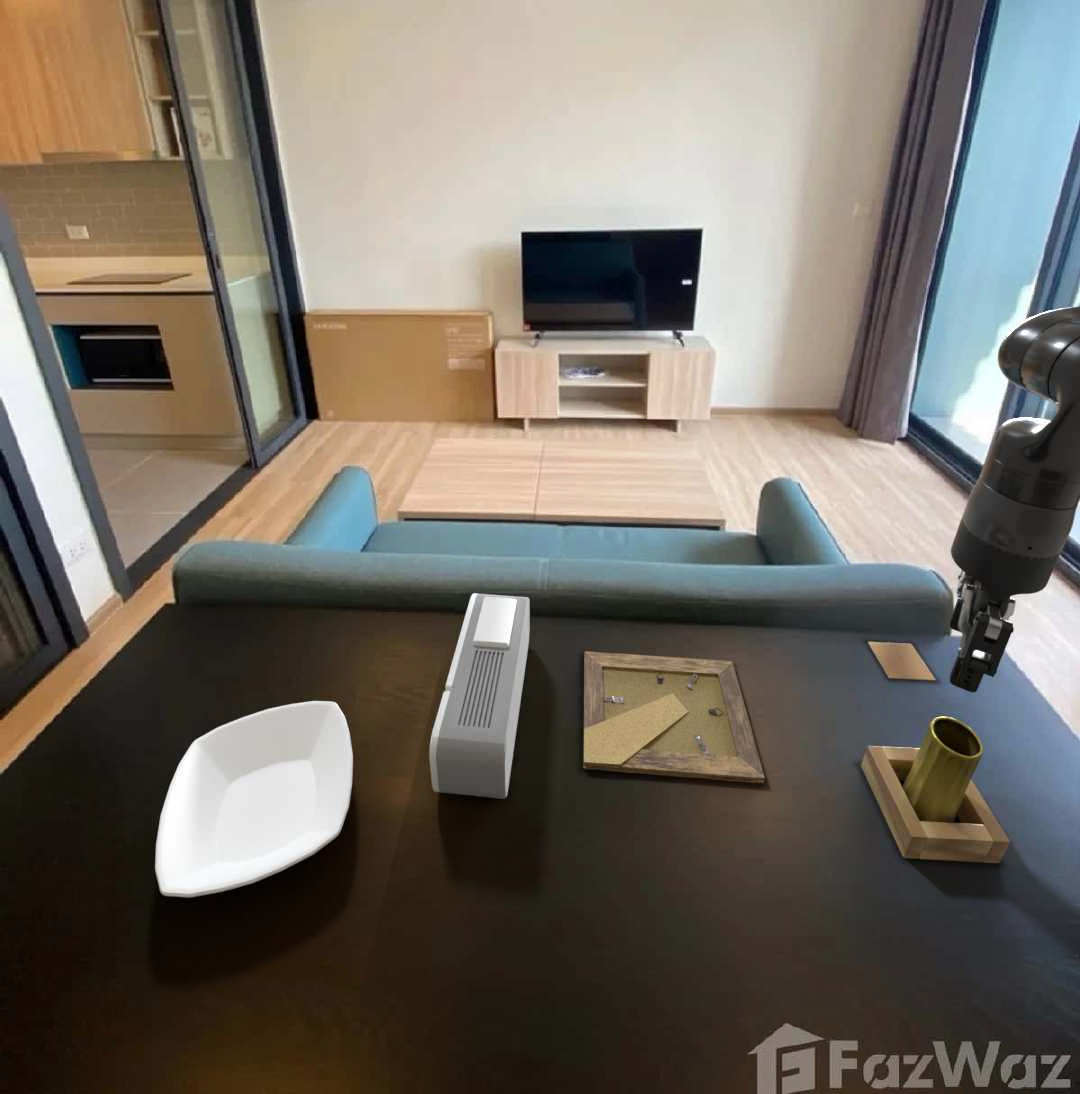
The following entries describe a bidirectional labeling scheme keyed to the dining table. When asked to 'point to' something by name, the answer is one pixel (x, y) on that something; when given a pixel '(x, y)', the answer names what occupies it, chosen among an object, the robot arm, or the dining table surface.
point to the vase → (942, 770)
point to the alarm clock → (482, 699)
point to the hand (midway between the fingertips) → (961, 656)
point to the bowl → (254, 799)
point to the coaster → (901, 661)
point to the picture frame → (667, 718)
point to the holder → (931, 839)
